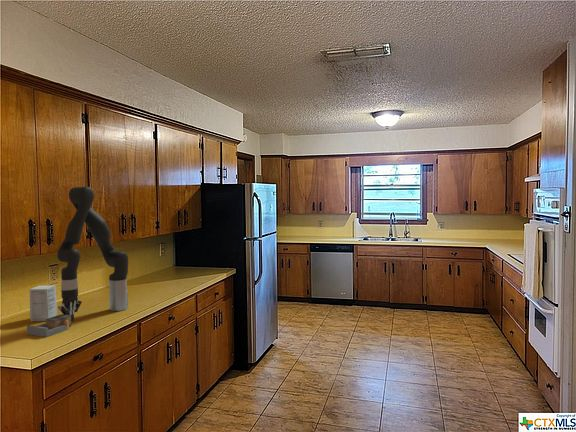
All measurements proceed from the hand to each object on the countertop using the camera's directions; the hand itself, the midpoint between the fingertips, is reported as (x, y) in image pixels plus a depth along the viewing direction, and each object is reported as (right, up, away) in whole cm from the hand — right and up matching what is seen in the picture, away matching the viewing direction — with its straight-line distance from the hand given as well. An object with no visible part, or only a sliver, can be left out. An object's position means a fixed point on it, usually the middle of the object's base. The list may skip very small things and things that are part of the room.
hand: (70, 321), depth 214 cm
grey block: (-2, -1, -7) cm, 8 cm away
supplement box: (-19, -1, +9) cm, 21 cm away
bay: (-4, -2, -12) cm, 13 cm away
